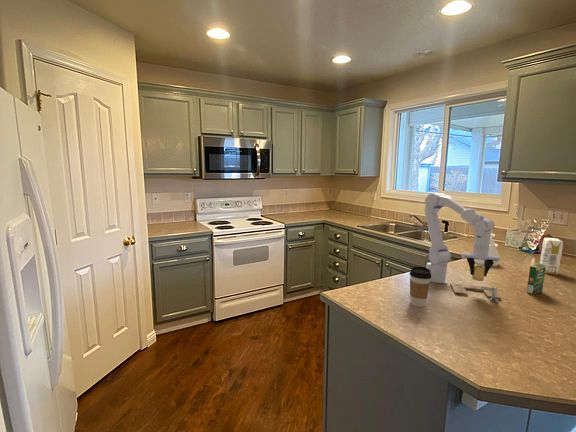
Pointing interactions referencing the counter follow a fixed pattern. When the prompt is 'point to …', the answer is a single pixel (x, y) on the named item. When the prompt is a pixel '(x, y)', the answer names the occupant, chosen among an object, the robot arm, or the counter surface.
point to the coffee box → (536, 279)
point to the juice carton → (551, 255)
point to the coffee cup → (419, 285)
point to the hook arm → (494, 292)
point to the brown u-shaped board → (461, 290)
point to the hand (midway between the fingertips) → (478, 275)
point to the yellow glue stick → (478, 273)
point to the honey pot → (490, 251)
